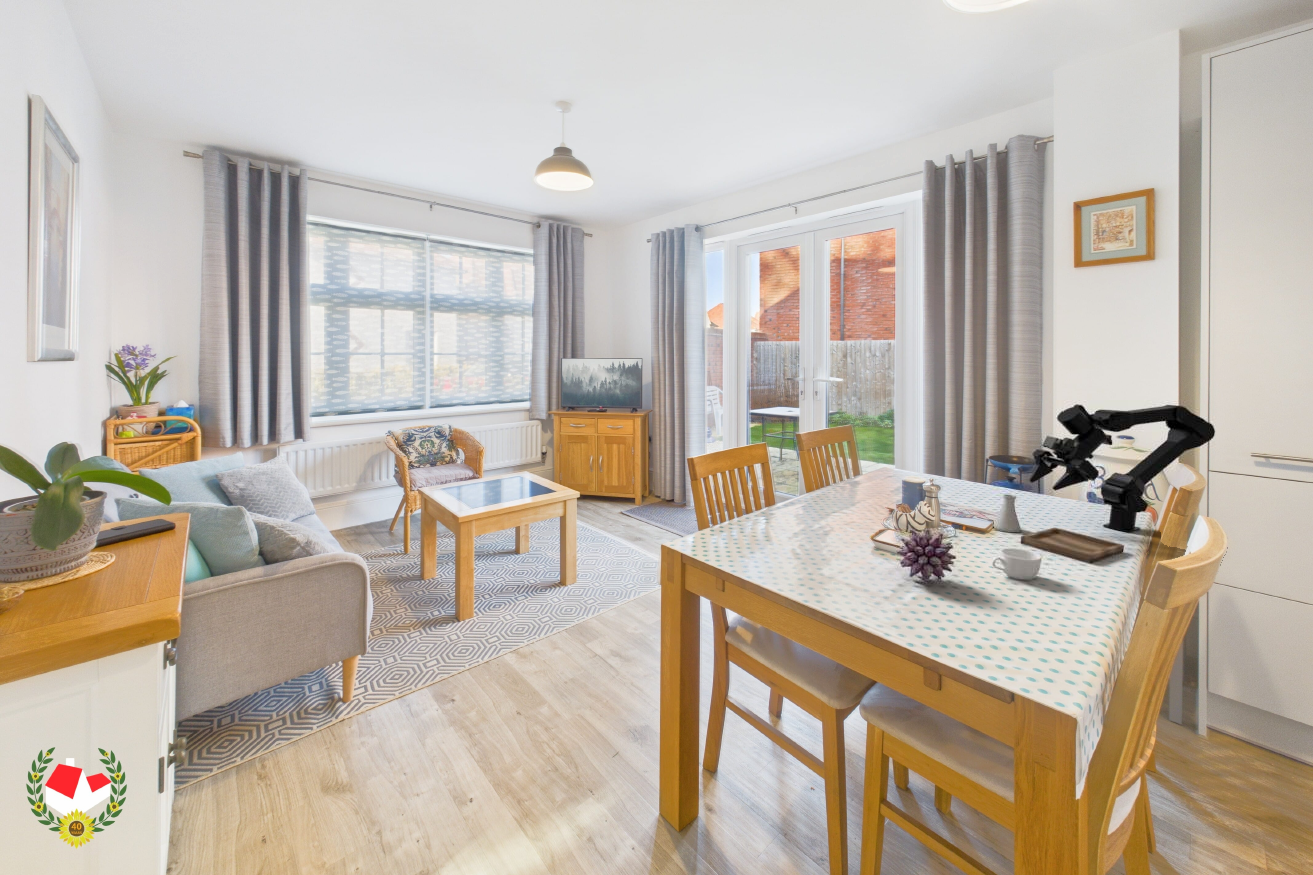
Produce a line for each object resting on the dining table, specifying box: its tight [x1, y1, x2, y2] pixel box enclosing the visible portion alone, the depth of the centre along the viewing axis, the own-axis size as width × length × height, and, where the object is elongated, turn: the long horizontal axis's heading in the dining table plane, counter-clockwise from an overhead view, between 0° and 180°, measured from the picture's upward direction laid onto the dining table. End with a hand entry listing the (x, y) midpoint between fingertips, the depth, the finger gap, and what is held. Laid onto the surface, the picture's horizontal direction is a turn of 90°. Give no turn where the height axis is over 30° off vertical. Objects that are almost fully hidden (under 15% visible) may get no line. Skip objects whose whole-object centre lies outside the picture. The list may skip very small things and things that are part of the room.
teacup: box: [991, 547, 1043, 581], centre depth 123 cm, size 10×8×5 cm
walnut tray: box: [1020, 527, 1125, 564], centre depth 141 cm, size 16×16×2 cm
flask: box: [993, 493, 1022, 533], centre depth 156 cm, size 7×7×10 cm
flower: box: [896, 527, 957, 583], centre depth 121 cm, size 12×12×12 cm
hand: (1041, 485), depth 154 cm, fingers open, 9 cm apart
